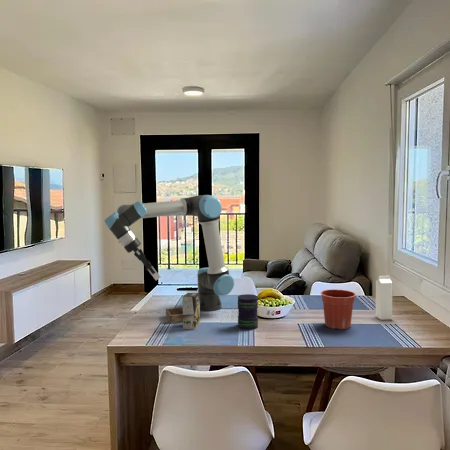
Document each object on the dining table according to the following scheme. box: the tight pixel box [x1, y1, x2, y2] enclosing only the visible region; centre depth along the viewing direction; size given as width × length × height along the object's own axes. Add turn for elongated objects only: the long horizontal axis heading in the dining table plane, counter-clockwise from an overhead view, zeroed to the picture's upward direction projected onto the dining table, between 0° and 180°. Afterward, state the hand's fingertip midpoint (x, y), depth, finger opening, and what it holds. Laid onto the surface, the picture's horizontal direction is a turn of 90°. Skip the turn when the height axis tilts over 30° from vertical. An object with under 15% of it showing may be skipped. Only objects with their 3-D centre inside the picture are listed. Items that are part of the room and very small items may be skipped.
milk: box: [375, 274, 393, 321], centre depth 214 cm, size 6×6×22 cm
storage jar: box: [237, 293, 259, 331], centre depth 203 cm, size 10×10×15 cm
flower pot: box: [320, 288, 357, 330], centre depth 203 cm, size 16×16×16 cm
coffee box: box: [182, 292, 201, 331], centre depth 204 cm, size 9×6×16 cm
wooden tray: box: [165, 306, 183, 325], centre depth 218 cm, size 13×14×4 cm
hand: (156, 276), depth 202 cm, fingers open, 13 cm apart
